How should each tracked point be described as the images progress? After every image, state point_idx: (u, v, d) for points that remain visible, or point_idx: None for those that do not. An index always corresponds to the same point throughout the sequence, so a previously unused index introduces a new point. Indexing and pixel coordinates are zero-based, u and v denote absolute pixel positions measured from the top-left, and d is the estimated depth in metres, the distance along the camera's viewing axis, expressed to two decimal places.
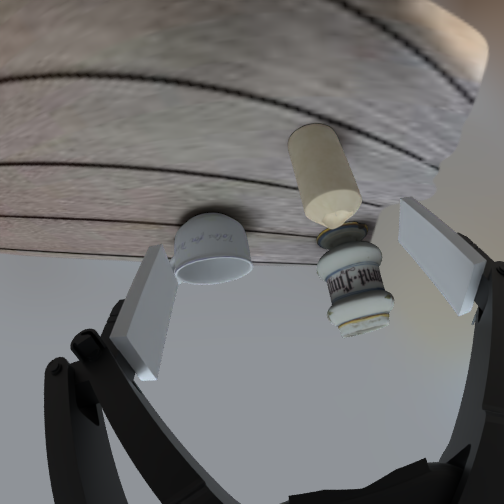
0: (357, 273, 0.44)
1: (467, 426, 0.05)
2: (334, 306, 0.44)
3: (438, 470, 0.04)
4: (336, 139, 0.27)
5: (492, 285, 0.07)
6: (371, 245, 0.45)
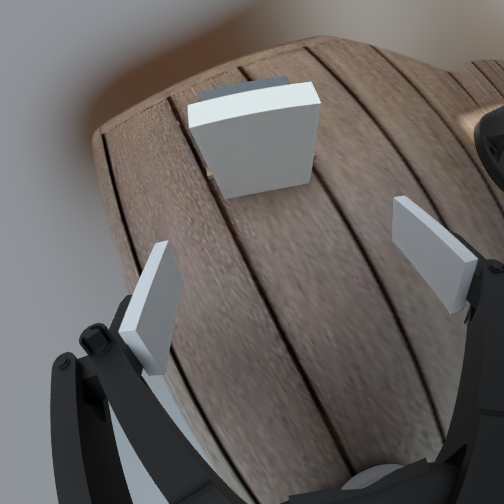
0: None
1: (462, 426, 0.05)
2: None
3: (438, 470, 0.04)
4: None
5: (484, 284, 0.08)
6: None
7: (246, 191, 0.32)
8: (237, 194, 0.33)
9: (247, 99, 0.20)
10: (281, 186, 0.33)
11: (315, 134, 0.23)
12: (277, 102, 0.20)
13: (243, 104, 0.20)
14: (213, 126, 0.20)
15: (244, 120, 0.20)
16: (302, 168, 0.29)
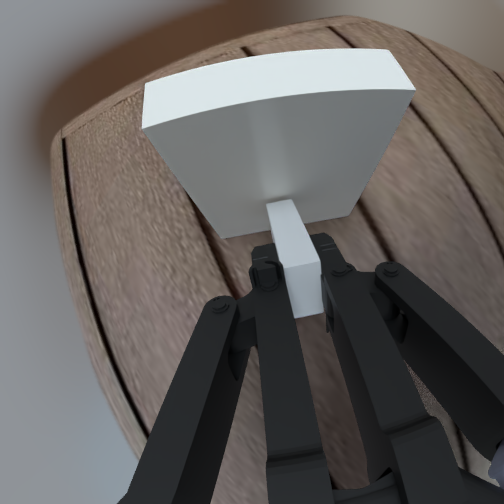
0: None
1: (376, 447, 0.05)
2: None
3: None
4: None
5: (332, 294, 0.09)
6: None
7: (253, 229, 0.21)
8: (240, 232, 0.21)
9: (268, 68, 0.09)
10: (307, 221, 0.21)
11: (385, 147, 0.12)
12: (332, 77, 0.09)
13: (260, 77, 0.09)
14: (194, 124, 0.09)
15: (262, 112, 0.09)
16: (345, 197, 0.18)
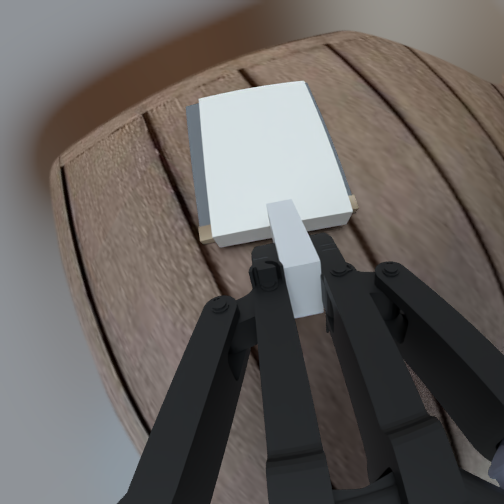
0: None
1: (376, 447, 0.05)
2: None
3: None
4: None
5: (332, 294, 0.09)
6: None
7: (247, 218, 0.20)
8: (233, 222, 0.20)
9: None
10: (306, 212, 0.20)
11: (315, 110, 0.22)
12: None
13: None
14: (217, 98, 0.24)
15: (243, 93, 0.24)
16: (324, 165, 0.21)
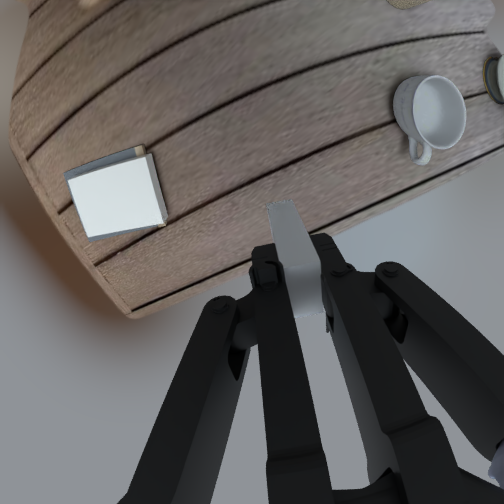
0: None
1: (376, 447, 0.05)
2: None
3: None
4: None
5: (332, 294, 0.09)
6: None
7: (153, 207, 0.39)
8: (155, 214, 0.40)
9: None
10: (148, 180, 0.37)
11: (87, 174, 0.36)
12: None
13: None
14: (86, 227, 0.41)
15: (82, 213, 0.40)
16: (121, 170, 0.36)
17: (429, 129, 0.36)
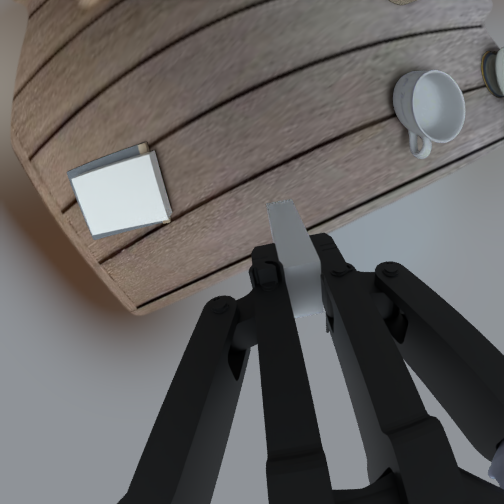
0: None
1: (376, 447, 0.05)
2: None
3: None
4: None
5: (332, 294, 0.09)
6: None
7: (157, 204, 0.40)
8: (160, 210, 0.40)
9: None
10: (152, 177, 0.38)
11: (91, 172, 0.37)
12: None
13: None
14: (91, 225, 0.41)
15: (86, 212, 0.40)
16: (125, 168, 0.37)
17: (428, 123, 0.36)
